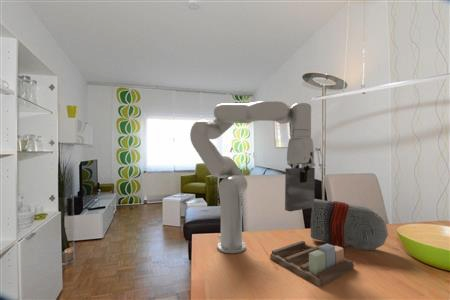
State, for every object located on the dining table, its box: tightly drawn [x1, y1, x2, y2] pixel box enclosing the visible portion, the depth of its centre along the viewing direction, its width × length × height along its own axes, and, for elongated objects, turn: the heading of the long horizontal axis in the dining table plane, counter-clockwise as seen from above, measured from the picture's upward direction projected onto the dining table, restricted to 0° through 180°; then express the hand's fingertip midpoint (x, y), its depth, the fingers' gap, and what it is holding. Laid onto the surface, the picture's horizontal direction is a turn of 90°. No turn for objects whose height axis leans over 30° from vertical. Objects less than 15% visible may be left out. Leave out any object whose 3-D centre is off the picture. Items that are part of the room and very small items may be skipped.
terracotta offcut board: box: [335, 246, 345, 265], centre depth 83 cm, size 3×5×7 cm, turn 122°
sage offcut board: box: [308, 250, 326, 276], centre depth 77 cm, size 3×5×8 cm, turn 122°
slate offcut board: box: [318, 243, 335, 270], centre depth 80 cm, size 3×5×9 cm, turn 122°
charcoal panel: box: [284, 167, 316, 212], centre depth 90 cm, size 2×14×16 cm, turn 121°
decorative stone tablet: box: [310, 198, 389, 251], centre depth 102 cm, size 19×6×30 cm
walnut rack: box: [269, 240, 355, 287], centre depth 86 cm, size 22×20×3 cm
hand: (300, 181), depth 90 cm, fingers closed on charcoal panel, 2 cm apart
